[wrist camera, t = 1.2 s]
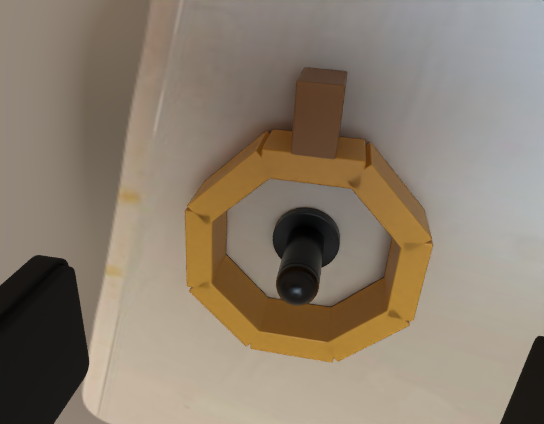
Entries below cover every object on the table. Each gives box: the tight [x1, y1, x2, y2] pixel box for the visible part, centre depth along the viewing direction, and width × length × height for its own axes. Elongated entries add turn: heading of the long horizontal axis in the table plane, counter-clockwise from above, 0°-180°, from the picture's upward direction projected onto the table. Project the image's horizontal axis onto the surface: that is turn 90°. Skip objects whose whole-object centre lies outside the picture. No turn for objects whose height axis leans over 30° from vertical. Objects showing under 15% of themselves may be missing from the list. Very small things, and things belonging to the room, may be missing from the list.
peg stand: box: [273, 208, 340, 306], centre depth 24 cm, size 4×4×5 cm
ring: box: [185, 68, 433, 362], centre depth 24 cm, size 15×12×3 cm
